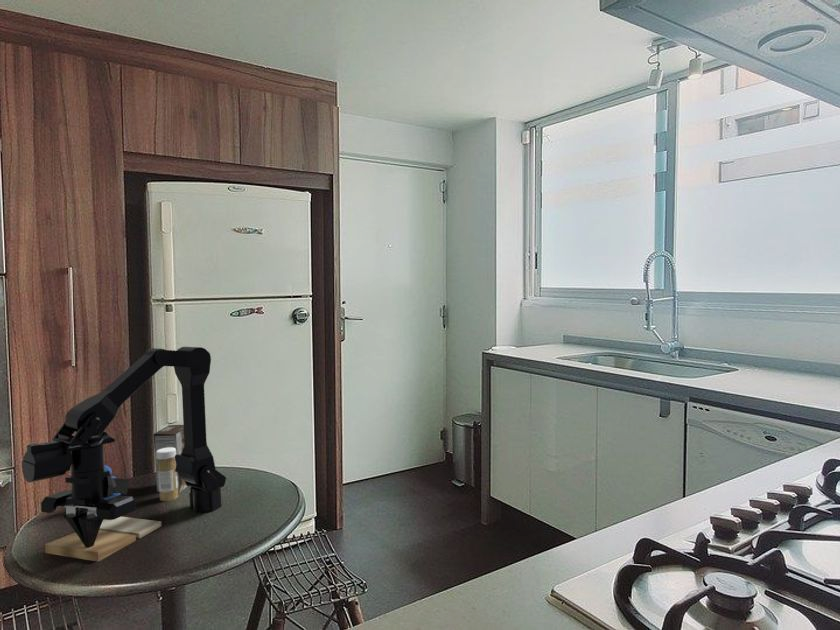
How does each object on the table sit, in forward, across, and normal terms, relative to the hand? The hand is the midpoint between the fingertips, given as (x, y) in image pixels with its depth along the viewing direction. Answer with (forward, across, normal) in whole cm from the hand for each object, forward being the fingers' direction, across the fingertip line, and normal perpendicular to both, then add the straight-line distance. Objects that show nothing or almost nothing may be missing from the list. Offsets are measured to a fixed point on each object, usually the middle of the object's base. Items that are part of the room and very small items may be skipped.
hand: (89, 547), depth 108 cm
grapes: (+2, +20, -20) cm, 28 cm away
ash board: (+2, +3, -11) cm, 12 cm away
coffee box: (+1, +12, -37) cm, 39 cm away
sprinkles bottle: (+1, +7, -28) cm, 29 cm away
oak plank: (+2, +3, -3) cm, 4 cm away
